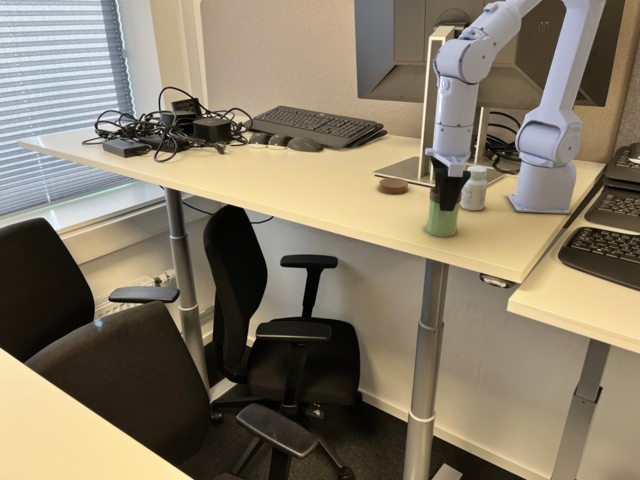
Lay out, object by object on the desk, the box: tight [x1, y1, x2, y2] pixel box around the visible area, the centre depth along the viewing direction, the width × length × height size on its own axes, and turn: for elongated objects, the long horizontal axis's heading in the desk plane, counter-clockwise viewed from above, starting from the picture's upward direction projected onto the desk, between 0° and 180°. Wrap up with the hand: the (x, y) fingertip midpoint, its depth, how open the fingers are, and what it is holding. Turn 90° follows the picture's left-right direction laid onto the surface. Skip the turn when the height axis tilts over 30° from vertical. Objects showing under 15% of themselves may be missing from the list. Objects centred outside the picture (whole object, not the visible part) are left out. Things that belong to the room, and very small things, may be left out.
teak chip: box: [378, 177, 409, 195], centre depth 99 cm, size 6×6×2 cm
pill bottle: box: [459, 165, 488, 212], centre depth 89 cm, size 4×4×8 cm
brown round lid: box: [429, 185, 462, 204], centre depth 78 cm, size 5×5×2 cm
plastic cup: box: [426, 199, 461, 238], centre depth 80 cm, size 5×5×6 cm
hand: (444, 203), depth 79 cm, fingers closed on brown round lid, 5 cm apart
